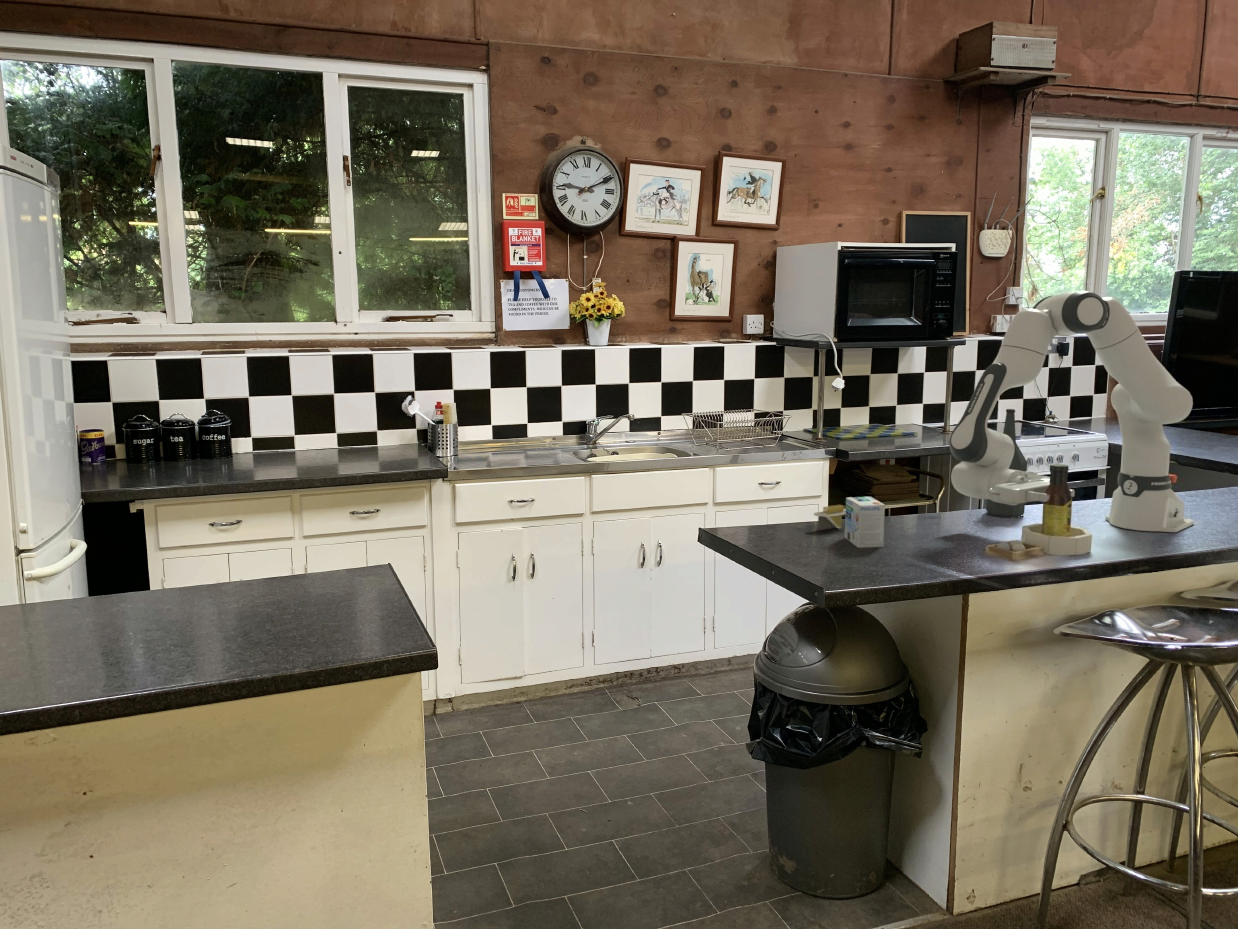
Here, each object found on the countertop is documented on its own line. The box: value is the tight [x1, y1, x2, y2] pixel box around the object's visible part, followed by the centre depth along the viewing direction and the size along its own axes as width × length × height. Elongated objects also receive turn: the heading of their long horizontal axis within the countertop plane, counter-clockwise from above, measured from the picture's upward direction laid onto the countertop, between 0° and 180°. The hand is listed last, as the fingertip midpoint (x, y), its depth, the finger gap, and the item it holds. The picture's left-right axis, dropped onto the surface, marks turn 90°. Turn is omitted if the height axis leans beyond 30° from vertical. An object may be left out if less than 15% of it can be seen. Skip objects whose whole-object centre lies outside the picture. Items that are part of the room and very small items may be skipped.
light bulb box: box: [844, 496, 886, 549], centre depth 234 cm, size 11×7×11 cm, turn 5°
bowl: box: [1020, 523, 1093, 556], centre depth 224 cm, size 14×14×5 cm
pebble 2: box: [1010, 539, 1023, 550], centre depth 220 cm, size 3×3×3 cm
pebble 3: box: [1012, 543, 1026, 552], centre depth 217 cm, size 3×3×3 cm
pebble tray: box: [985, 539, 1044, 563], centre depth 218 cm, size 10×8×3 cm
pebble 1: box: [997, 541, 1010, 551], centre depth 218 cm, size 3×3×3 cm
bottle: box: [985, 408, 1028, 519], centre depth 263 cm, size 10×10×30 cm
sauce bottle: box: [1041, 463, 1073, 537], centre depth 223 cm, size 7×6×20 cm
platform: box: [813, 504, 846, 531], centre depth 249 cm, size 12×18×7 cm, turn 119°
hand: (1060, 495), depth 222 cm, fingers open, 8 cm apart
